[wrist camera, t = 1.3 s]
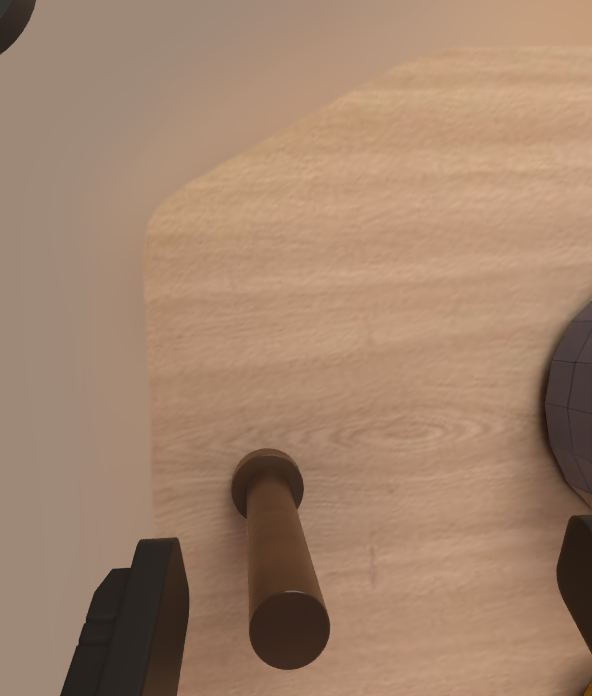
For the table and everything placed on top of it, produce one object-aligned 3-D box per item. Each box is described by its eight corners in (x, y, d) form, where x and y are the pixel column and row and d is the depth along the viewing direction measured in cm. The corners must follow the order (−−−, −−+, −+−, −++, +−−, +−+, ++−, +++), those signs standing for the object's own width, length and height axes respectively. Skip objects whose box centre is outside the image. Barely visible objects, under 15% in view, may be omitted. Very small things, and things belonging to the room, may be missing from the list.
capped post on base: (220, 468, 32) (197, 605, 16) (282, 436, 32) (320, 539, 16) (251, 528, 32) (260, 721, 16) (312, 496, 33) (379, 655, 17)
